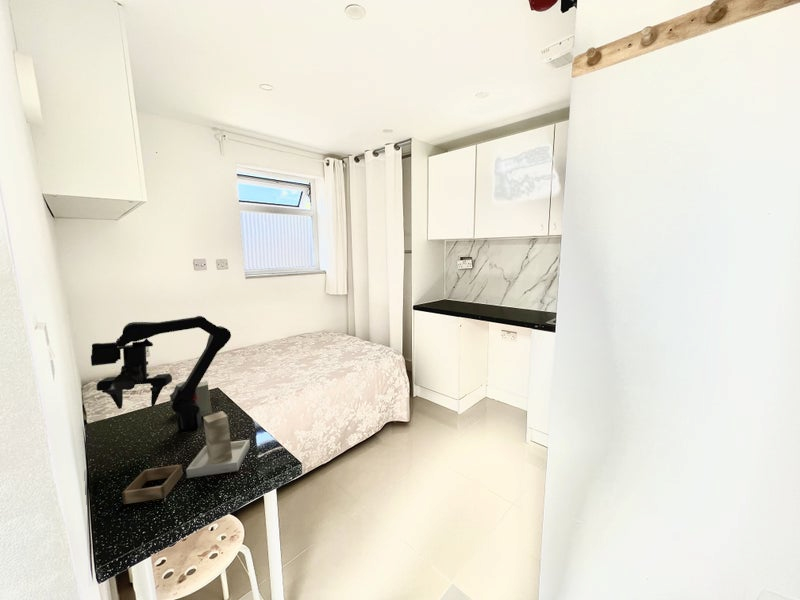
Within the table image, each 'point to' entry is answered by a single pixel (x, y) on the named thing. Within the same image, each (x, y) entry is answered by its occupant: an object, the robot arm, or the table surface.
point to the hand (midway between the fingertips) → (136, 407)
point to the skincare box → (203, 398)
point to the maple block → (217, 437)
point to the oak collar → (152, 493)
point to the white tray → (205, 467)
